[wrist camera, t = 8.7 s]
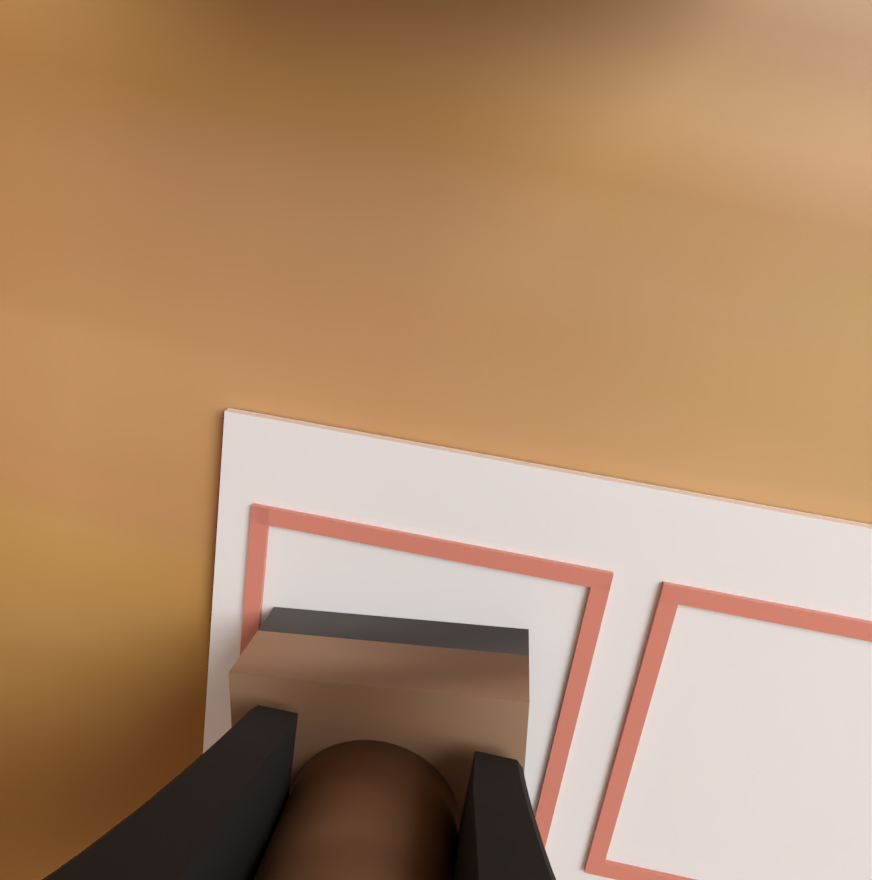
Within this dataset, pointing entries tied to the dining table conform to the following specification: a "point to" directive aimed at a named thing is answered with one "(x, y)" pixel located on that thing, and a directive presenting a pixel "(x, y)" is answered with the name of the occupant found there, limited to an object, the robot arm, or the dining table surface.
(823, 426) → the dining table surface
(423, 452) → the sheet
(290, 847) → the stamp
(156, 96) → the dining table surface
